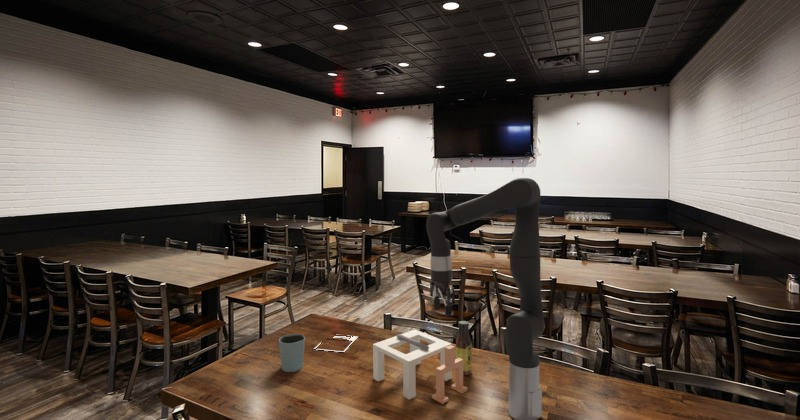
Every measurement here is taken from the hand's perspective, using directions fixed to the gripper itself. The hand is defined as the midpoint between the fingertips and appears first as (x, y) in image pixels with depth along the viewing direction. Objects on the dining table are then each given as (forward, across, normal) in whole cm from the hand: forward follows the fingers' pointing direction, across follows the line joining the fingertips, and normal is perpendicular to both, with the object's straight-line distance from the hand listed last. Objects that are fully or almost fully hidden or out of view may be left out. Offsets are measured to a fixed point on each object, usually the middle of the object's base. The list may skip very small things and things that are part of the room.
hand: (442, 312), depth 144 cm
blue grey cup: (+26, +39, +48) cm, 67 cm away
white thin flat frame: (+26, +55, +26) cm, 66 cm away
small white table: (+27, +11, +8) cm, 30 cm away
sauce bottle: (+28, +7, -12) cm, 31 cm away
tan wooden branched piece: (+28, -5, +1) cm, 28 cm away
